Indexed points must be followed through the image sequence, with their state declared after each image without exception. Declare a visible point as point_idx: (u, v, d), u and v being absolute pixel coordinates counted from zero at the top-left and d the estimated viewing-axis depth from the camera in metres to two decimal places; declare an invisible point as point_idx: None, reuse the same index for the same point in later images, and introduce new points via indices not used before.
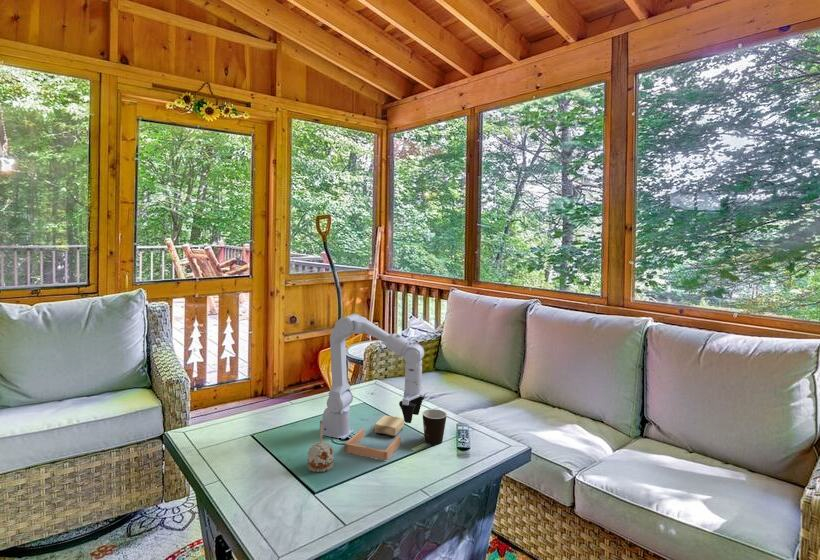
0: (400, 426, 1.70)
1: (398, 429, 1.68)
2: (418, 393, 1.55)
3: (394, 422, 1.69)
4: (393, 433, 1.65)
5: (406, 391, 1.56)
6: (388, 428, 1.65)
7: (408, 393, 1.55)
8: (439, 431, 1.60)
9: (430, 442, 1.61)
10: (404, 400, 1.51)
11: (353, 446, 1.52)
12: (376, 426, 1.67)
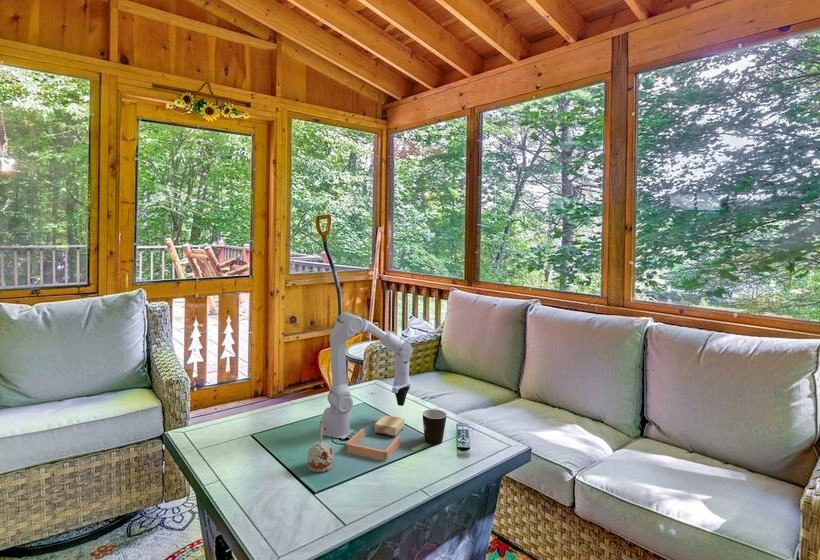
0: (400, 426, 1.70)
1: (398, 429, 1.68)
2: (406, 383, 1.77)
3: (394, 422, 1.69)
4: (393, 433, 1.65)
5: (395, 381, 1.77)
6: (388, 428, 1.65)
7: (397, 383, 1.77)
8: (439, 431, 1.60)
9: (430, 442, 1.61)
10: (393, 388, 1.73)
11: (353, 446, 1.52)
12: (376, 426, 1.67)
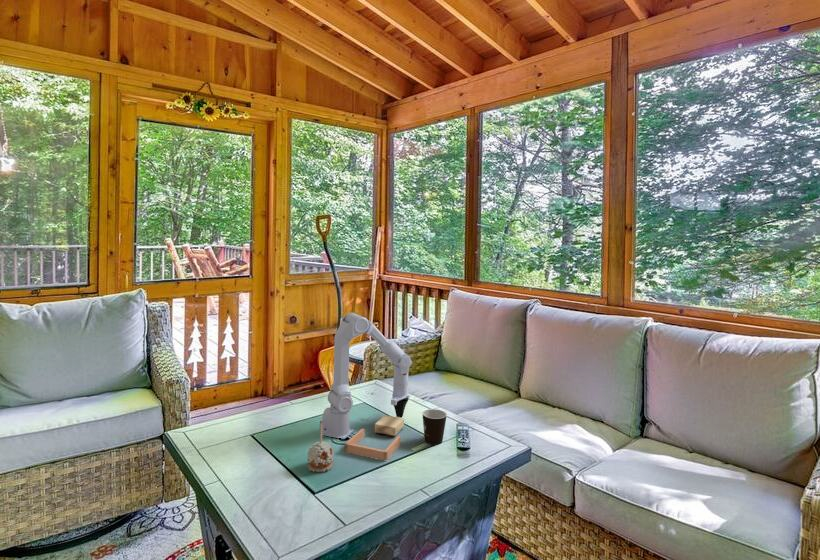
0: (400, 426, 1.70)
1: (398, 429, 1.68)
2: (405, 394, 1.77)
3: (394, 422, 1.69)
4: (393, 433, 1.65)
5: (394, 393, 1.77)
6: (388, 428, 1.65)
7: (396, 394, 1.76)
8: (439, 431, 1.60)
9: (430, 442, 1.61)
10: (392, 401, 1.72)
11: (353, 446, 1.52)
12: (376, 426, 1.67)
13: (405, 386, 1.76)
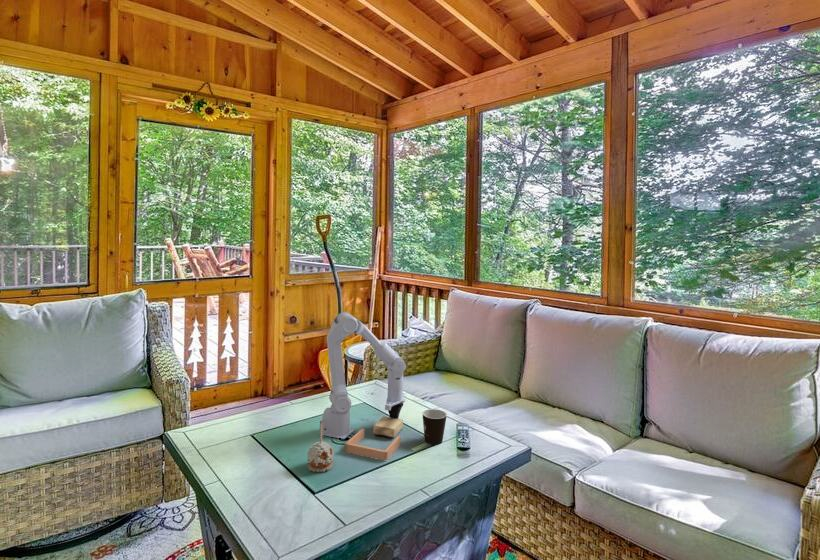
0: (399, 427, 1.69)
1: (397, 430, 1.67)
2: (399, 399, 1.72)
3: (393, 423, 1.68)
4: (391, 434, 1.64)
5: (389, 397, 1.72)
6: (387, 430, 1.64)
7: (390, 399, 1.71)
8: (439, 431, 1.60)
9: (430, 442, 1.61)
10: (386, 406, 1.67)
11: (353, 446, 1.52)
12: (375, 427, 1.66)
13: (400, 391, 1.71)
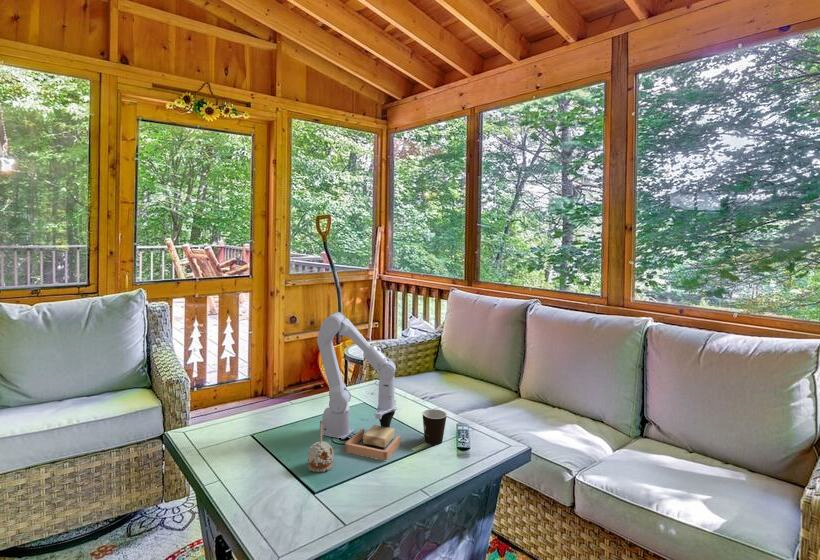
0: (390, 437, 1.60)
1: (388, 440, 1.59)
2: (391, 407, 1.63)
3: (384, 432, 1.60)
4: (382, 444, 1.56)
5: (379, 405, 1.64)
6: (378, 440, 1.56)
7: (381, 407, 1.63)
8: (439, 431, 1.60)
9: (430, 442, 1.61)
10: (377, 414, 1.59)
11: (353, 446, 1.52)
12: (365, 437, 1.58)
13: (391, 398, 1.63)
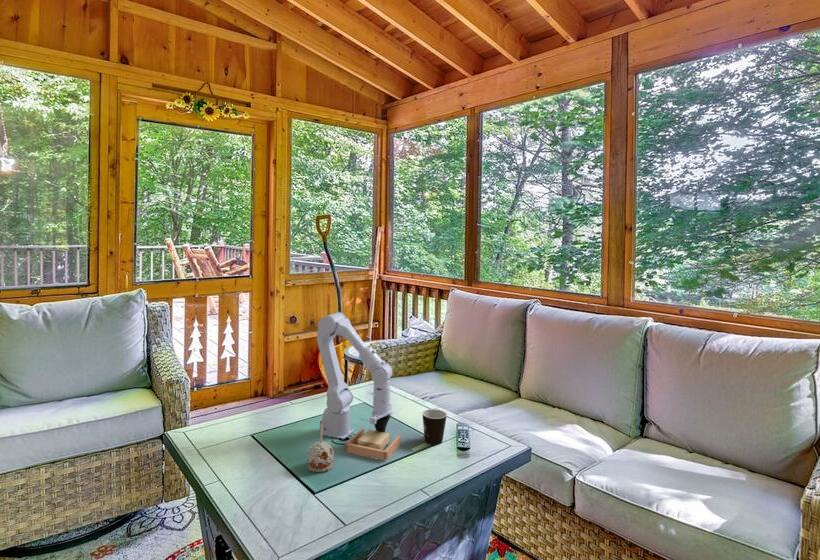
0: (385, 442, 1.56)
1: (383, 445, 1.54)
2: (386, 411, 1.59)
3: (379, 438, 1.56)
4: None
5: (374, 410, 1.59)
6: (372, 445, 1.52)
7: (376, 412, 1.59)
8: (439, 431, 1.60)
9: (430, 442, 1.61)
10: (371, 419, 1.55)
11: (353, 446, 1.52)
12: (359, 442, 1.54)
13: (386, 402, 1.59)
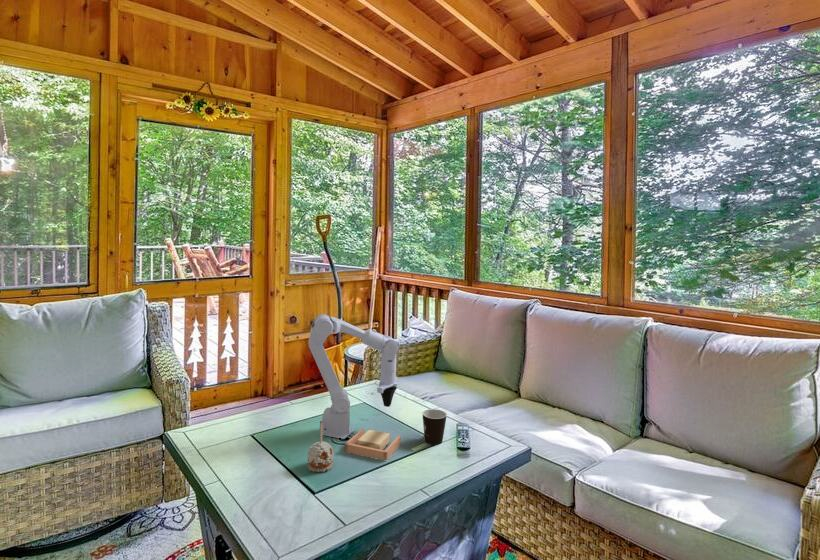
0: (385, 442, 1.56)
1: (383, 445, 1.54)
2: (392, 382, 1.68)
3: (379, 438, 1.56)
4: None
5: (381, 380, 1.68)
6: (372, 445, 1.52)
7: (383, 382, 1.67)
8: (439, 431, 1.60)
9: (430, 442, 1.61)
10: (379, 388, 1.63)
11: (353, 446, 1.52)
12: (359, 442, 1.54)
13: (393, 373, 1.67)
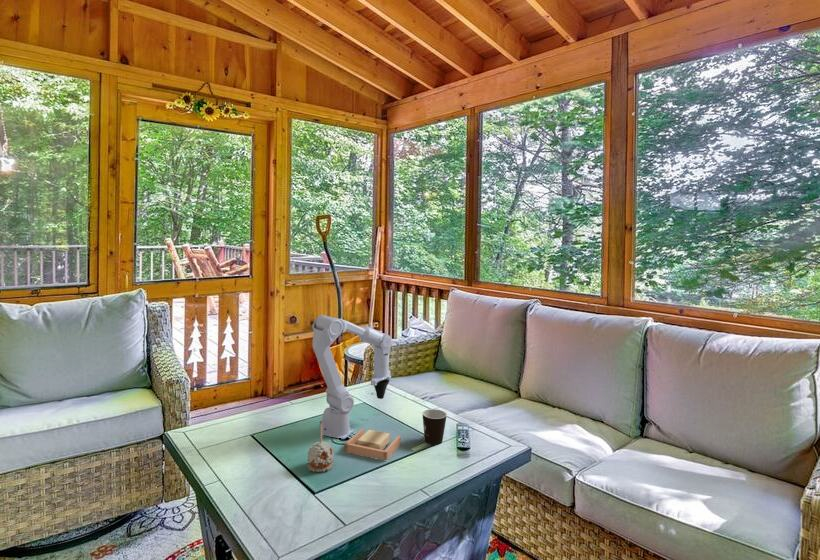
0: (385, 442, 1.56)
1: (383, 445, 1.54)
2: (385, 375, 1.75)
3: (379, 438, 1.56)
4: None
5: (375, 373, 1.76)
6: (372, 445, 1.52)
7: (376, 375, 1.75)
8: (439, 431, 1.60)
9: (430, 442, 1.61)
10: (372, 381, 1.71)
11: (353, 446, 1.52)
12: (359, 442, 1.54)
13: (386, 367, 1.75)
